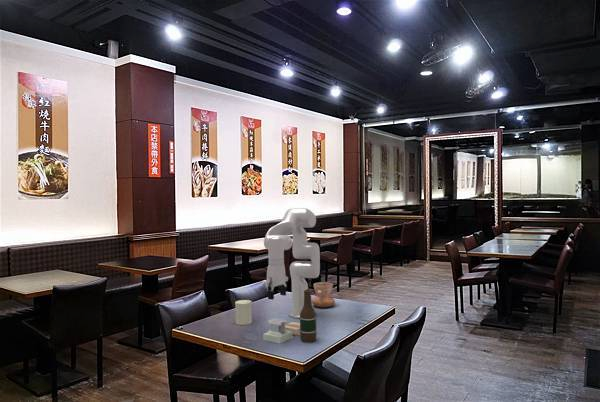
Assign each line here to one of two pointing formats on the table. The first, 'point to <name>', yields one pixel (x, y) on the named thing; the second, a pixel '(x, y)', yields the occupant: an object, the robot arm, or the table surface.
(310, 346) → the table surface
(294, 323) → the stand
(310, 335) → the beer bottle
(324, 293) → the ceramic jug
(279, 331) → the housing
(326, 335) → the table surface
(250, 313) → the can
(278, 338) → the stand
